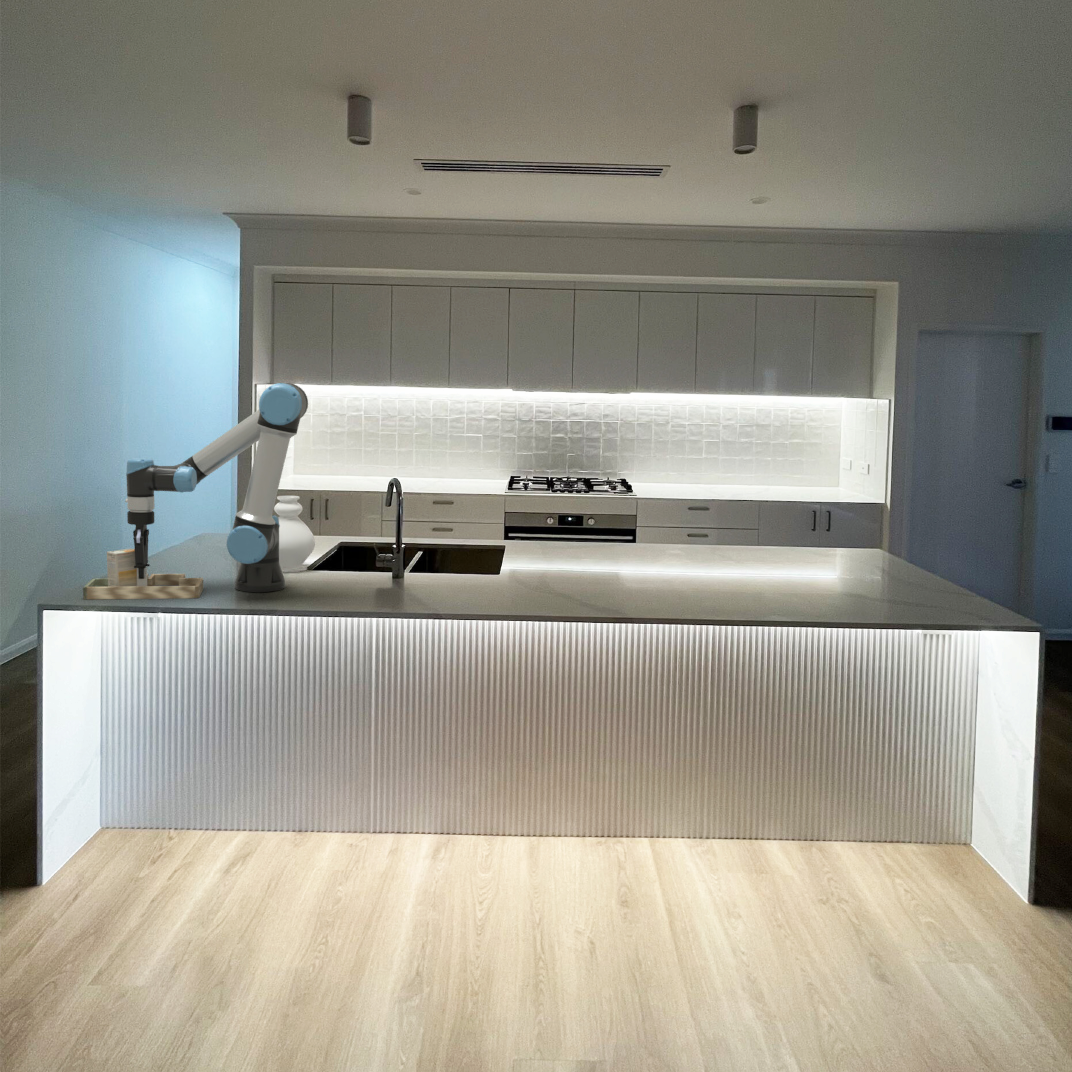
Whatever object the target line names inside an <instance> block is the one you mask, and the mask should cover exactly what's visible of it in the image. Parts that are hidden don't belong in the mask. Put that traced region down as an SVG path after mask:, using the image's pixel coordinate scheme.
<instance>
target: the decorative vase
mask: <svg viewBox="0 0 1072 1072" xmlns="http://www.w3.org/2000/svg"><path fill="white" fill-rule="evenodd" d="M276 499H277V500H279V502H277V503H275V504H274V508H273V511H274V513H276V514H277V515H278V516H277V517H278V518H279V524H280V527H279V564H280V567H281V570H282V573H300V571H301V572H305V571H307V570H308V566H306V565H303V564H304V563H305V562H306V561H307V559H308V558H309V557H310V556H311V554H312V553H313V551H314V550H315V548H316V541H315V540H316V539H315V536H314V533H313V532H312V530H311V529H310V527H308V525H307V524H306V523H305V522H304V521H303V520H302V519H301V518H300V517H299V515H300V514H301V513H302V512H303V509H304V508H303V505H301V503H299V502H298V501H299V500H300V499H301V498H300V496H298V495H278V496H276Z"/></svg>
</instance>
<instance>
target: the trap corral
mask: <svg viewBox="0 0 1072 1072" xmlns="http://www.w3.org/2000/svg"><path fill="white" fill-rule="evenodd" d="M82 588H83V589H82V593H83V594H82V595H83V600H147V599H148V600H150V599H151V600H152V599H154V600H155V599H157V600H158V599H159V600H160V599H161V600H163V599H166V600H167V599H199V598H200V596H201V594H202V593H203V590H204V577H186V573H151V574H150V576H149V574H148V573H147V586H131V587H108V577H106V578H92V579H91V580H89V581H88V582H87V583H86V584H85V585H84V586H83V587H82Z"/></svg>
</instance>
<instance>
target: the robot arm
mask: <svg viewBox="0 0 1072 1072" xmlns="http://www.w3.org/2000/svg"><path fill="white" fill-rule="evenodd" d="M308 408H309V400H308V396H307V394H306V392H305V390H303V388H301V387H300V386H299V385H297V384H295V383H289V382H288V383H282V382H279V383H275V384H272V385H270V386H268V387H267V388H266V389H264V390H263V392H262V393H261V395H260V398H259V401H258V410H256V411H255V412H253V413H252V414H251V415H249V416H248V417H246V418H244V419H243V420H241V422H239V423H237V424H236V425H235V426H233V427H232V428H230V429H229V430H227V431H226V432H224V433H223V434H222V435H220V436H219V437H217V438H216V439H215V440H213V441H212V442H210V443H209V444H207V445H206V446H204V447H203V448H202V449H200V450H199V451H197V452H196V453H194V454H193V455H192V456H190V457H188V458H187V459H186V460H184V461H182V462H181V463H179V464H176V465H157V464H155V462H154V460H153V458H148V457H133V458H129V459H128V460H127V461H126V473H125V474H126V493H127V494H126V496H127V497H126V498H125V500H124V502H125V503H127V510H128V511H127V514H126V515H127V516H126V517H127V524H128V525H132V526H133V525H134V526H135V529H134V530H132V531H133V532H132V534H133V535H132V536H133V545H134V549H135V566H134V568H137V586H147V574H148V567H150V566H151V565H150V563H148V562H149V535H150V529H148V526H149V525H153V524H154V523H155V511H154V509H155V492H173V493H174V492H176V493H181V494H182V493H192V492H193V491H195V489H196V487H197V485H199V484H200V483H201V482H202V480H204V479H205V478H207V477H208V476H210V475H211V474H213V472H215V471H216V470H218V469H219V468H220V467H221V468H222V466H223V465H226V464H227V463H228V462H229V461H231V460H232V459H234V458H235V457H237V456H239V454H242V452H244V451H245V450H247V449H248V448H250V447H251V446H253V445H254V444H255V443H257V442H258V443H257V447H256V450H255V455H254V460H253V462H252V463H253V464H252V466H251V467H252V468H251V472H250V476H249V479H248V480H249V481H248V485H247V490H246V495H245V498H244V502H243V506H242V509H241V510H240V511H238V512H236V514H235V517H234V522H233V525H232V526H233V527H232V530H231V531H230V532H229V533H228V535H227V539H226V550H227V551H228V554H229V555H230V557H231V558H232V559H233V560H235V561H236V562H238V563H240V565H239V569H238V570H237V574H236V578H235V580H234V589H236V590H237V591H241V592H248V593H269V592H276V591H280V590H283V588H284V589H285V588H286V580H285V576H284V572H282V570H281V567H280V564H279V527H280V524H279V518H278V517H279V516H277V515H273V511H274V507H275V505H276V499H277V495H278V491H279V487H280V483H281V478H282V475H283V470H284V465H285V461H286V457H287V453H288V449H289V445H290V441H291V438H293V437H294V436H295V435H297V432H298V429H299V426H300V423H301V419H302V418H303V417H304V416H305V414H306V413H307V411H308ZM147 525H148V526H147Z"/></svg>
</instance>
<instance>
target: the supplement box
mask: <svg viewBox="0 0 1072 1072" xmlns="http://www.w3.org/2000/svg"><path fill="white" fill-rule="evenodd" d="M106 562H107V563H106V564H107V565H106V569H107V570H106V571H107V578H108V587H131V586H137V568H134V566H135V548H125V549H116V550H110V551H109V550H108V551H106Z"/></svg>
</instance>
